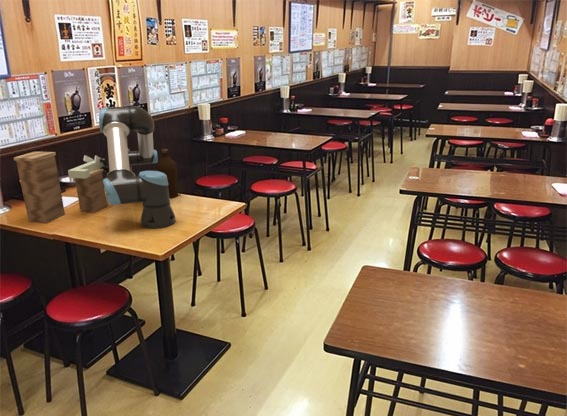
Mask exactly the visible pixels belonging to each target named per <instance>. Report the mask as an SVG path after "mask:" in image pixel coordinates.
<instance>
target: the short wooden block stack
mask: <svg viewBox="0 0 567 416" xmlns="http://www.w3.org/2000/svg"><path fill="white" fill-rule="evenodd" d="M103 172H104V170H103V169H96V170H94V171H91V172H89V174H90V177H88V178H86V179H84V178H74V181H75V187H76V188H75V189H76V194H77V200H78V204H79V211H80V212H81V213H98V212H99V211H101V210H103V209H104V208H106V207H108V205H107V204H108V202H107V196H106V192H105V188H104V184H103V179H104V177H103Z"/></svg>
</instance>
